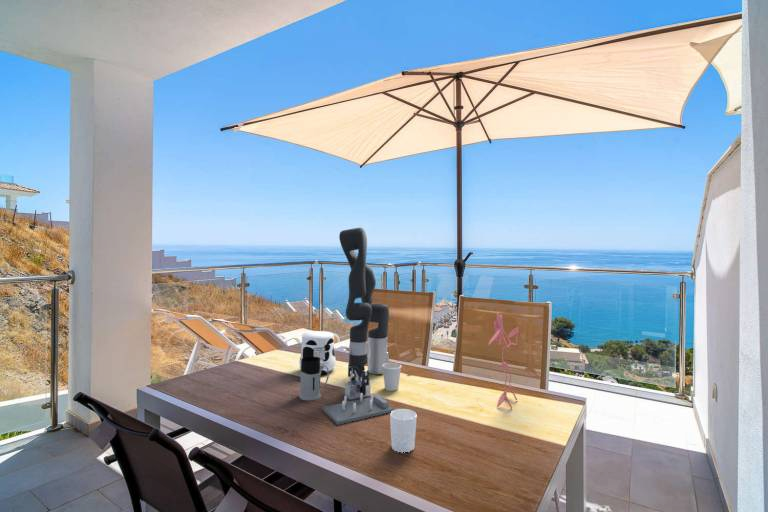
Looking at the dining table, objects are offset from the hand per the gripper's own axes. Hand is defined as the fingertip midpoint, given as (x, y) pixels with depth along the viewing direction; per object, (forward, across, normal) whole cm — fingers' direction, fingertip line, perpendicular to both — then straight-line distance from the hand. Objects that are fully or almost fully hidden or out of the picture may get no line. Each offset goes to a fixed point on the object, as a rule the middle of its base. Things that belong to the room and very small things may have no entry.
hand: (357, 391), depth 155 cm
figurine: (+2, -32, -45) cm, 55 cm away
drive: (+2, 0, 0) cm, 2 cm away
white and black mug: (+2, +6, +16) cm, 17 cm away
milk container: (+2, +38, +3) cm, 38 cm away
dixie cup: (+2, 0, -16) cm, 16 cm away
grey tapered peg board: (+1, -14, +7) cm, 16 cm away
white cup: (+2, -44, +7) cm, 45 cm away
